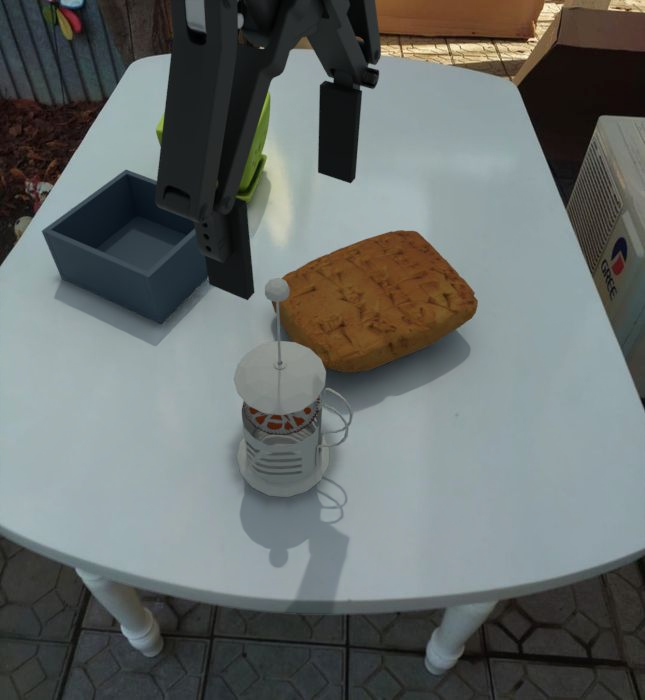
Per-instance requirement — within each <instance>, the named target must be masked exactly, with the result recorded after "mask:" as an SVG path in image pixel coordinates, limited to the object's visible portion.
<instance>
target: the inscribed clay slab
mask: <svg viewBox="0 0 645 700" xmlns="http://www.w3.org/2000/svg"><path fill="white" fill-rule="evenodd" d="M280 278H281V279H283V280H285V281H286V282H287V284H288V287H289V289H290V292H289V296H288V297H287V299H285V300H284V301H280V302H279V318H280V325H281V326H282V327H283V329H284V331H285V332H286V333H287V335H288V337H289V339H290V340H291V342H295V343H298V344H300V345H303V346H305V347H307V348H310V349H311V350H312V351H313V352H314V353H315V354H316V355H317V356H318V357H319V358H320V359H321V360H322V363H323V365H324V368H325V369H330V370H333V371H338V372H342V373H345V374H347V373H358V372H364V371H370V370H373V369H376V368H379V367H381V366H383V365H385V364H388V363H390V362H393V361H395V360H398V359H401V358H403V357H405V356H408V355H410V354H412V353H416V352H417V351H420V350H422V349H423V350H424V348H426V347H429V346H431V345H433V344H435V343H437V342H439V341H440V340H441V339H442V338H444V337H446V336H447V335H449V334H450V333H452V332H454V331H456V330H457V329H459V328H460V327H462V326H463V325H464V324H466V323H468V322H469V321H470V320H471V319H473V318H474V316H475V314H476V313H477V311H478V310H477V309H478V305H479V300H478V299H477V298H476V296H475V294H476V292H475V291H474V290H473V289H472V287H471V286H470V285H469V283H468V282H467V281H466V279H465V278H463V277H461V275H460V274H459V272H458V271H457V270H455V268H454V267H453V266H452V265H451V264H450V262H448V260H447V259H445V258H444V257H443V256H442V255H441V254H440V253H439V251H438V250H437V249H436V248H435V247H434V246H433V245H432V244H431V243H430V242H429V241H427V239H426V238H425V237H424V236H423V235H421V233H419V232H418V231H416V230H403V229H402V230H395V231H392V230H390V231H388V232H385V233H381V234H378V235H375V236H372V237H369V238H368V237H367V238H365V239H362V240H360V241H357V242H355V243H351V244H350V245H348V246H344V247H340V248H338V249H336V250H333V251H331V252H330V253H327V254H324V255H321V256H319V257H317V258H315V259H313V260H310V261H308V262H307V263H305V264H304V265H301V266H300V267H298V268H297V269H295V270H292V271H289V272H288V273H286V274H285V275H283V276H282V277H280ZM271 304H272V308H273V310H274V312H275V315H277V311H276V302H275V301H271Z"/></svg>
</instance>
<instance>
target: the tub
mask: <svg viewBox="0 0 645 700" xmlns="http://www.w3.org/2000/svg"><path fill="white" fill-rule="evenodd" d="M156 185H157V179H154V178H151V177H148V176H145V175H143V174H139V173H138V172H137V173H136V172H134V171H132V170H128V169H124V170H123V171H121V172H120V173H118V174H117V175H116V176H115V177H113V178H112V179H111V180H109V181H108V182H107V183H105V184H104V185H102V186H101V187H99V188H97V190H96V191H94V192H93V193H91V194H90V195H89V196H87V197H86V198H84V200H82V201H80V202H79V203H78V204H76V205H75V206H73V207H72V208H71V209H70V210H68V211H66V212H65V213H64V214H63V215H61V216H60V217H59V218H57V219H56V220H55V221H54V222H52V223H50V224H49V225H48V226H46V227H45V228H43V229H42V230H41V233H42V235H43V238H44V240H45V242H46V246H47V248H48V250H49V252H50V255H51V257H52V259H53V262H54V264H55V266H56V269H57V271H58V274H59V275H60V278H61V279H62V280H64V281H66V282H68V283H70V284H72V285H74V286H77V287H79V288H81V289H84V290H85V291H88V292H90V293H91V294H92V293H93V294H94V295H97V296H98V297H101V298H102V299H106V300H107V301H110V302H112V303H114V304H116V305H119V306H121V307H122V308H125V309H127V310H129V311H131V312H133V313H136V314H138V315H140V316H142V317H145V318H147V319H148V320H150V321H153V322H155V323H157V324H160V325H162V324H163V323H164V322H165V321H166V320H167V319H168V318H169V317H170V316H171V315H172V314H173V313H174V312H175V311H176V310H177V309H178V308H179V307H180V306H181V305H182V304H183V303H184V302H185V301H186V300H187V299H188V298H189V296H191V295H192V294H193V293H194V291H196V289H197V288H199V287H200V286H201V285H202V284H203V282H205V280H207V279H208V272H207V266H206V260H205V255H202V254H201V252H200V251H199V249H198V244H197V238H196V233H195V227H194V221H193V220H190V219H187V218H185V217H182V216H180V215H177V214H174V213H172V212H169V211H167V210H164V209H161V208H159V207H158V206H157V205H156V202H155V194H156Z"/></svg>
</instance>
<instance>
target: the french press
mask: <svg viewBox="0 0 645 700" xmlns="http://www.w3.org/2000/svg"><path fill="white" fill-rule="evenodd" d="M281 278H282V277H276V278H272V279H269V280H268V281H267V282H266V284H264V296H265V297H266V299H267V300H269V301H271V302H272V301H275V302H276V311H277V314H276V332H277V340H275V341H274V340H273V341H270V342H265V343H260V344H258V345H256V347H254V348H252V349H251V350H249V351H247V352H246V353H245V354H244V355H243V357H242V358H241V359H240V361H239V362H238V363H237V364H236V368H235V372H234V375H233V382H234V386H235V390H236V394H238V396H239V397H240V398H241V400H243V402H242V406H241V421H242V431H243V438H242V439H241V441H239V446H238V451H237V456H236V459H237V460H236V461H237V465H238V468H239V472H240V475H241V476H242V477H243V478H244V480H245V481H246V482H247V483H248V485H249V486H250V487H251V488H252V489H253V490H256V491H258V492H261V493H263V494H264V495H267V496H268V497H269V496H271V497H279V498H280V497H281V498H282V497H283V498H289V497H292V496H297V495H299V494H300V495H301V494H303V493H306V492H308V491H309V490H310V489H312V488H313V487H314V486H315V485H317V484H318V483H319V482H321V480H322V478H323V477H324V475H325V474H326V471H327V470H328V468H329V462H330V451H331V449H330V448H334V447H338V446H340V445H341V444H342V443H344V442H346V440H347V438H348V437H349V426H350V425H351V424H352V421H353V417H354V412H353V409H352V407H351V405H350V403H349V402H348V400H346V398H344V396H342V395H341V394H340V393H339V392H337V391H336V390H334V389H332V388H330V387H325V386H326V377H327V370H326V368H324V365H323V363H322V360H321V359H320V358H319V357H318V356H317V355H316V354H315V353H314V352H313V351H312V350H311V349H310V348H307V347H305V346H303V345H300V344H298V343H295V342H292V341H285V340H281V327H280V326H281V322H280V318H279V302H280V301H284V300H285V299H287V297H288V296H289V292H290V289H289V287H288V284H287V282H286V281H285V280H283V279H281ZM327 391H328V392H330V393H332V394H333V395H335V396H337V397H338V398H339V399H340V400H341V401H342V402H343V403H344V404H345V406H346V407H347V409H348V411H349V419H348V421H347V420H346V419H345V418H344V416H343V415H342V413H340V411H338V410H337V409H336V408H335V407H334V406H331V405H329V404H327V403H326V402H325V398H326V393H327ZM320 395H321V398H320ZM323 406H324V407H326V408H328V409H330V410H332V411H333V412H334V413H335V414H336V415H337V416H338V417H339V418H340V419H341V421H342V422H343V424H344V426H343V428H340V429H337V430H323V431H322V420H323V419H322V417H323ZM340 432H344V436H343V438H341V439H340V440H339V442H334V443H329V444H328V443H327V440H326V437H325V435H324V434H338V433H340Z"/></svg>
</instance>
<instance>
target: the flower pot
mask: <svg viewBox="0 0 645 700" xmlns="http://www.w3.org/2000/svg"><path fill="white" fill-rule="evenodd" d="M164 114H165V111H164V113H162V116H161V118H160V120H159V122H158V124H157V126H156V128H155V134H156V137H157V141H158V143H159V146H160V147H161V140H162V131H163V122H164ZM270 114H271V93H270V91H268V93H267V96H266V100H265V103H264V106H263V110H262V113H261V116H260V120H259V123H258V126H257V130H256V133H255V136H254V140H253V143H252V146H251V150H250V153H249V156H248V160H247V163H246V166H245V170H244V173H243V176H242V180H241V183H240V186H239V190H238V193H237V196H236V198H239V199H242V200H244V201H246V204H248V203H249V202H250V201H251V200H252V198H253V195H254V193H255V191H256V188H257V186H258V183H259V182H260V178H261V176H262V173H263V172H264V168H265V165H266V162H267V159H268V155H267V154H262V153H263V151H264V147H265V144H266V140H267V136H268V130H269V125H270V124H269V123H270V116H271V115H270ZM217 186H218V180H217Z"/></svg>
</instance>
